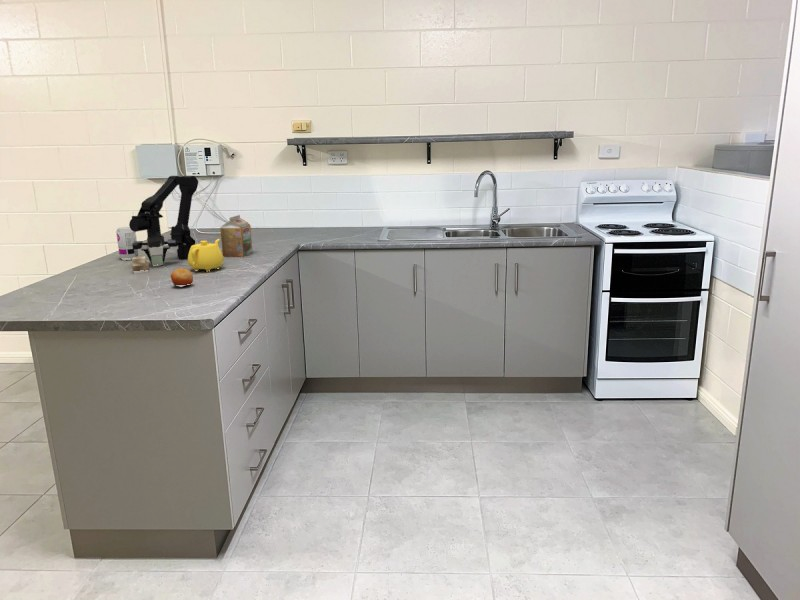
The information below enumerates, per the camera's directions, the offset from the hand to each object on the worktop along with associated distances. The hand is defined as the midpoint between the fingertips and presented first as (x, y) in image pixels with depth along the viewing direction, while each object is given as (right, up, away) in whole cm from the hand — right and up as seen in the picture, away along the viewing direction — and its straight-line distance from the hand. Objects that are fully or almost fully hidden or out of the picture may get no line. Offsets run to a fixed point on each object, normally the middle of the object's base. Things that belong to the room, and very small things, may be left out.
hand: (157, 262), depth 278 cm
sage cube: (0, -1, 0) cm, 1 cm away
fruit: (+26, -12, -41) cm, 50 cm away
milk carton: (+31, +5, +21) cm, 38 cm away
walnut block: (-2, -5, -13) cm, 14 cm away
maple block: (-2, -2, -14) cm, 15 cm away
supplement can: (-19, +2, +15) cm, 24 cm away
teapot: (+26, -4, -10) cm, 28 cm away
